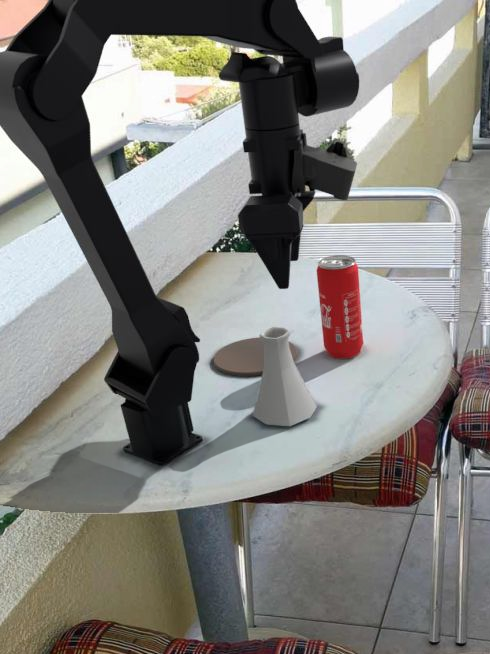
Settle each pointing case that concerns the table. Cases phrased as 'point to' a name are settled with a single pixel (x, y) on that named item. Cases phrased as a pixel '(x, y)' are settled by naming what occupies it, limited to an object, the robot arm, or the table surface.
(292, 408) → the flask
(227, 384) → the table surface
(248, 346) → the coaster
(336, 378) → the table surface
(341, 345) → the beverage can
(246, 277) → the table surface
